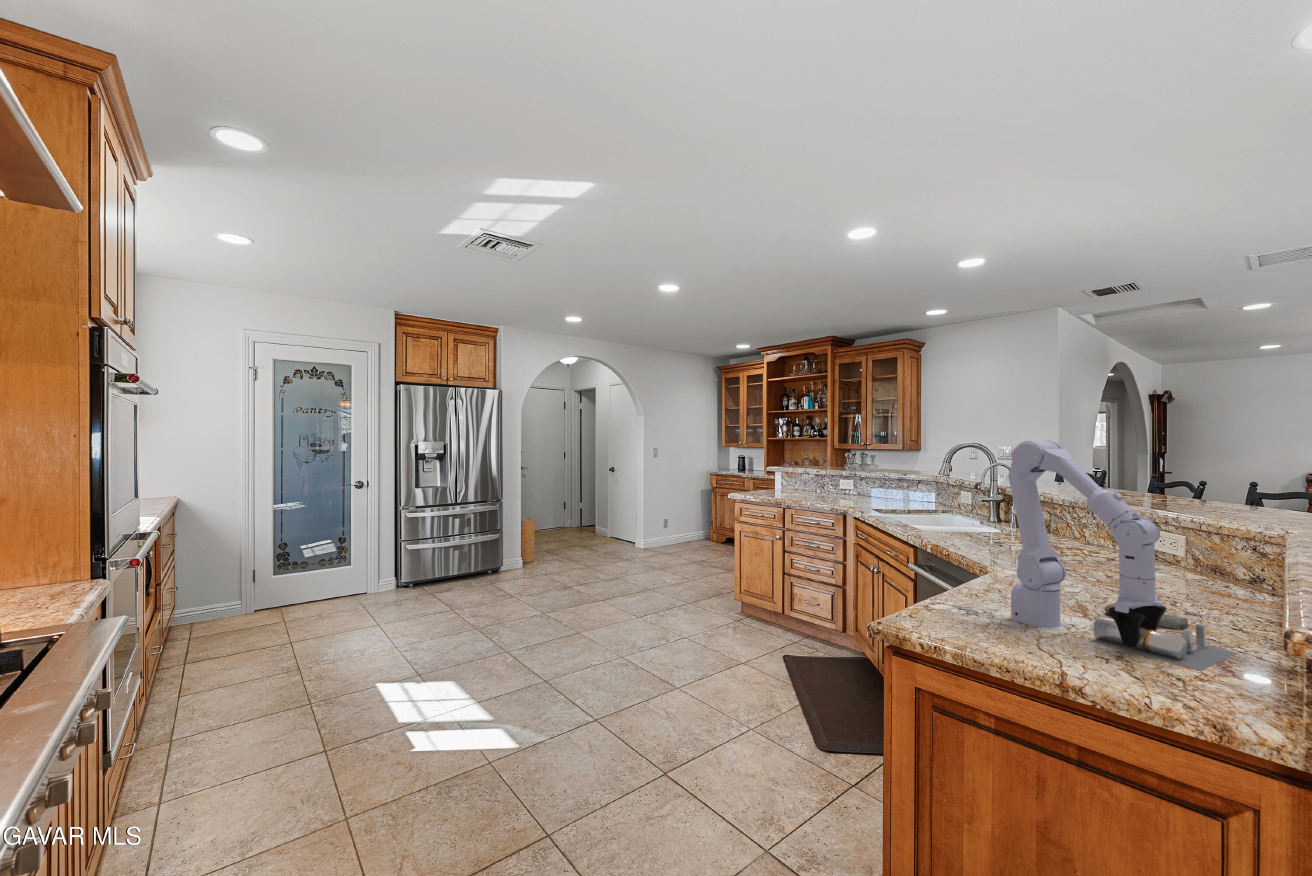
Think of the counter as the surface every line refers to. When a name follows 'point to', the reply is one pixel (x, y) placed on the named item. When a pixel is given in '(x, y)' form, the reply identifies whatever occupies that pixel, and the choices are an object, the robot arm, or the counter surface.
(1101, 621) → the tube
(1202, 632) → the collar
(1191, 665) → the board
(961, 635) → the counter surface
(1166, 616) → the stone
